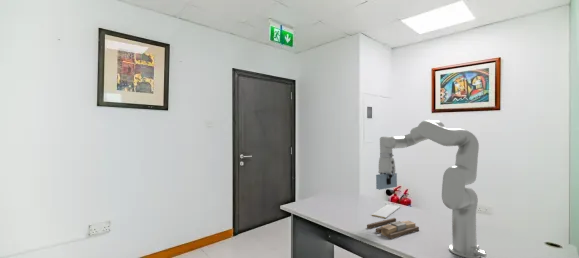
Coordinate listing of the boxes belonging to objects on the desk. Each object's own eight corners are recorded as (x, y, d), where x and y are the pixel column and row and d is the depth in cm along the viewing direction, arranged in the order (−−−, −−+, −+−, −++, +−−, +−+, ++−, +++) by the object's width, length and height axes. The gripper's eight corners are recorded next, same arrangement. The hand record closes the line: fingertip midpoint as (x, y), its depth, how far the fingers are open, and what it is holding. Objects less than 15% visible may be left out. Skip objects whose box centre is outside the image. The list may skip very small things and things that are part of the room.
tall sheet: (396, 186, 160) (396, 173, 160) (379, 189, 152) (379, 175, 153) (393, 186, 162) (393, 172, 162) (376, 188, 155) (376, 174, 155)
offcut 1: (396, 234, 139) (396, 226, 139) (389, 237, 135) (389, 229, 135) (388, 231, 143) (388, 224, 143) (381, 234, 139) (381, 226, 139)
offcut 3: (415, 230, 145) (415, 223, 145) (406, 231, 143) (406, 224, 143) (409, 227, 150) (408, 220, 150) (399, 228, 147) (399, 221, 147)
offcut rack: (418, 230, 144) (418, 226, 144) (390, 238, 133) (390, 235, 133) (394, 220, 159) (394, 217, 159) (367, 227, 149) (367, 224, 149)
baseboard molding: (368, 215, 172) (385, 219, 164) (368, 211, 172) (385, 215, 164) (384, 205, 195) (400, 208, 187) (384, 201, 195) (400, 204, 187)
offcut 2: (406, 232, 142) (406, 223, 142) (397, 234, 139) (397, 225, 139) (399, 229, 146) (399, 220, 146) (390, 231, 143) (390, 222, 143)
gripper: (400, 156, 152) (401, 185, 152) (380, 154, 166) (381, 181, 166) (392, 156, 149) (393, 187, 148) (372, 154, 163) (373, 182, 163)
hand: (386, 183), depth 157 cm, fingers closed on tall sheet, 2 cm apart
